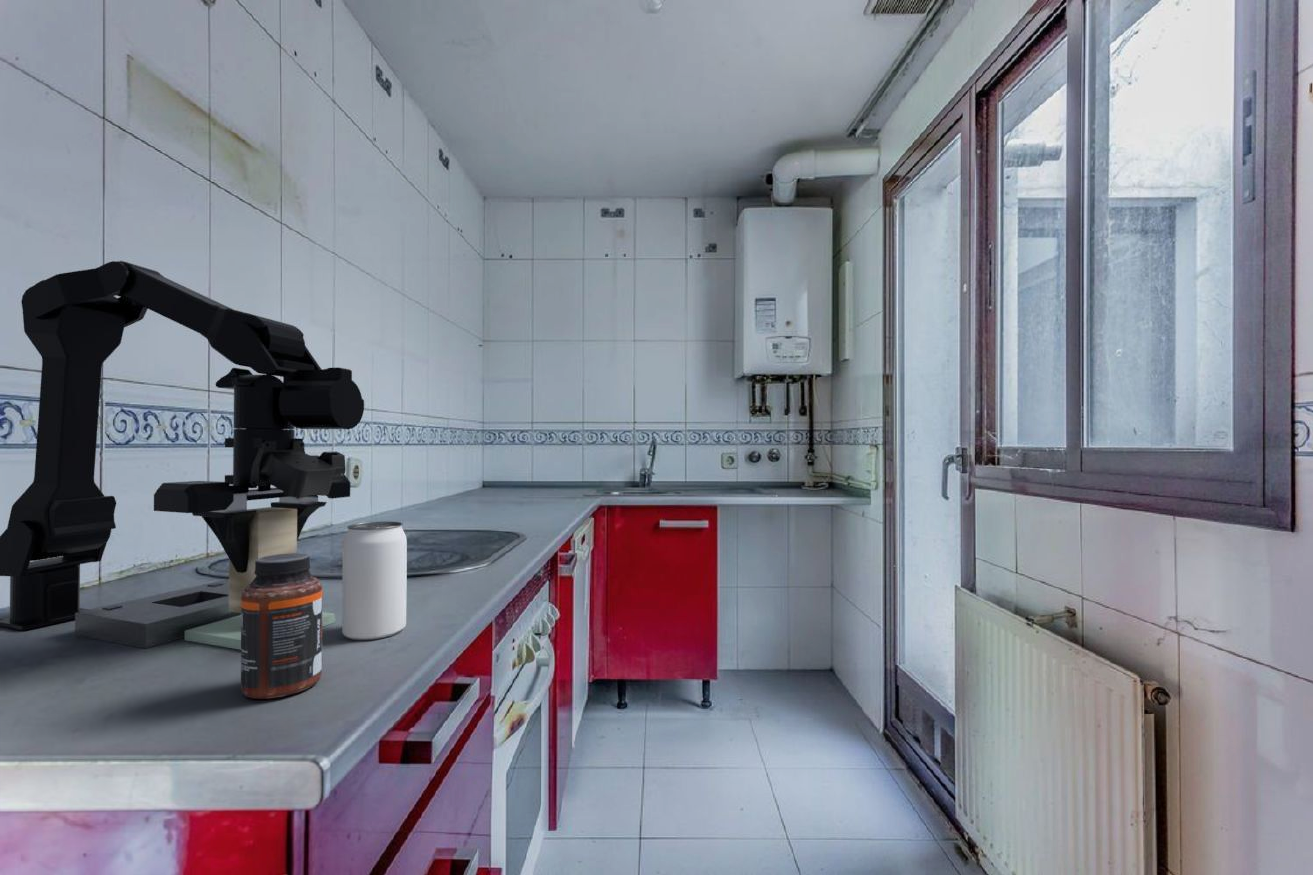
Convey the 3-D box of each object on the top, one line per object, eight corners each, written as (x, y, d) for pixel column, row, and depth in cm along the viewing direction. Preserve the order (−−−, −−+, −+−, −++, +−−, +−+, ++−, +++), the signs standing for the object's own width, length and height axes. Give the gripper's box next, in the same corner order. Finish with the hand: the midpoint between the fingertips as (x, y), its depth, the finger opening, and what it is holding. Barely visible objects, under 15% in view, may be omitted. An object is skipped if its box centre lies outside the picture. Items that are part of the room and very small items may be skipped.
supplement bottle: (338, 678, 52) (338, 552, 52) (274, 707, 46) (275, 566, 46) (289, 669, 54) (290, 548, 54) (223, 696, 48) (224, 560, 48)
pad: (184, 640, 61) (184, 630, 61) (274, 613, 71) (274, 605, 71) (250, 651, 58) (250, 641, 58) (335, 622, 68) (335, 613, 68)
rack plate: (75, 635, 63) (75, 611, 63) (226, 597, 78) (226, 578, 78) (145, 648, 59) (145, 623, 59) (290, 606, 74) (290, 586, 74)
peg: (228, 611, 63) (229, 511, 63) (268, 600, 67) (269, 507, 68) (257, 615, 62) (258, 513, 62) (296, 604, 66) (297, 508, 66)
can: (380, 643, 61) (381, 530, 61) (328, 639, 62) (328, 528, 62) (418, 624, 67) (418, 521, 67) (369, 621, 68) (370, 520, 68)
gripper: (228, 426, 53) (227, 595, 53) (385, 430, 71) (384, 557, 71) (150, 427, 57) (149, 584, 57) (317, 431, 75) (316, 551, 74)
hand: (263, 567), depth 65 cm, fingers closed on peg, 4 cm apart
